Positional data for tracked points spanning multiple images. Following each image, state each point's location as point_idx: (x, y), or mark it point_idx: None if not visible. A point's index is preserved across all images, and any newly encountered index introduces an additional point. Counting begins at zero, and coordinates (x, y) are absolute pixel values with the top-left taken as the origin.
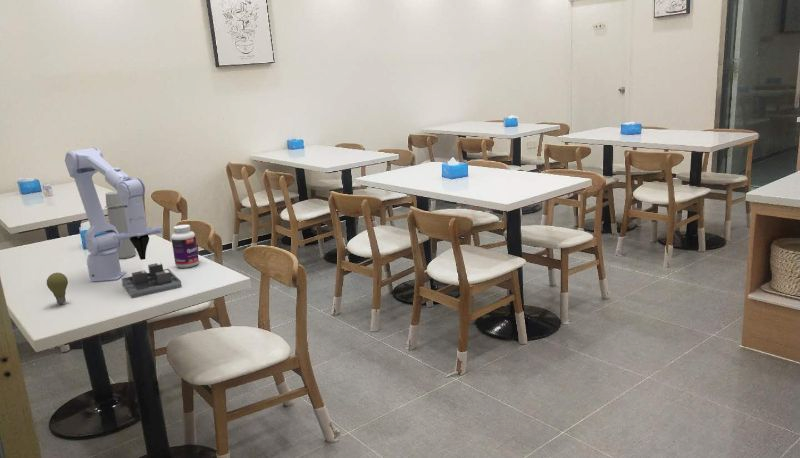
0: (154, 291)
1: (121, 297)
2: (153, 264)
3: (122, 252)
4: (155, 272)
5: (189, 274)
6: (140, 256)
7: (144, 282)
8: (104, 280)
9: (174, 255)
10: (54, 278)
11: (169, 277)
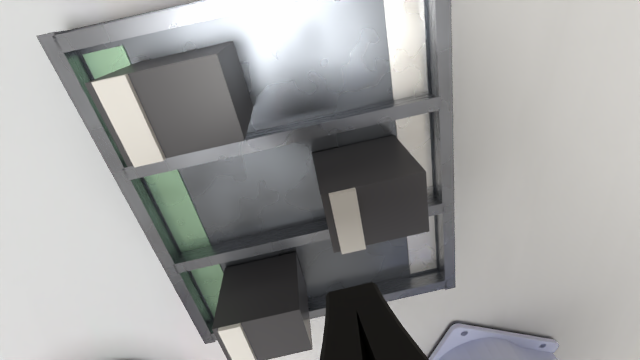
0: None
1: (485, 21)
2: (276, 347)
3: None
4: (268, 281)
5: (84, 272)
6: (388, 309)
7: (337, 155)
8: (504, 331)
9: None
10: None
11: (121, 71)
